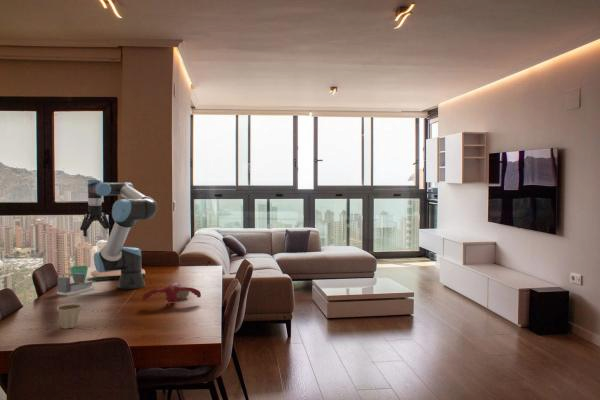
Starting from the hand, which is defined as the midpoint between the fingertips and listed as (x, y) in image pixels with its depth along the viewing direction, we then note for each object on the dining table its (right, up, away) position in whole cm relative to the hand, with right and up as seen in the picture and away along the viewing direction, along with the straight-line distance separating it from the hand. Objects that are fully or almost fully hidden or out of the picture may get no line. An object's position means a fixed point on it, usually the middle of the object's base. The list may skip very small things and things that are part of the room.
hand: (95, 240), depth 303 cm
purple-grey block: (-4, -26, -16) cm, 31 cm away
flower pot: (+23, -31, -84) cm, 92 cm away
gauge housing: (-5, -28, -16) cm, 32 cm away
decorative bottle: (+55, -28, -24) cm, 66 cm away
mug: (-12, -27, +8) cm, 30 cm away
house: (+4, -26, +27) cm, 38 cm away
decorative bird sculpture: (+58, -29, -48) cm, 81 cm away
